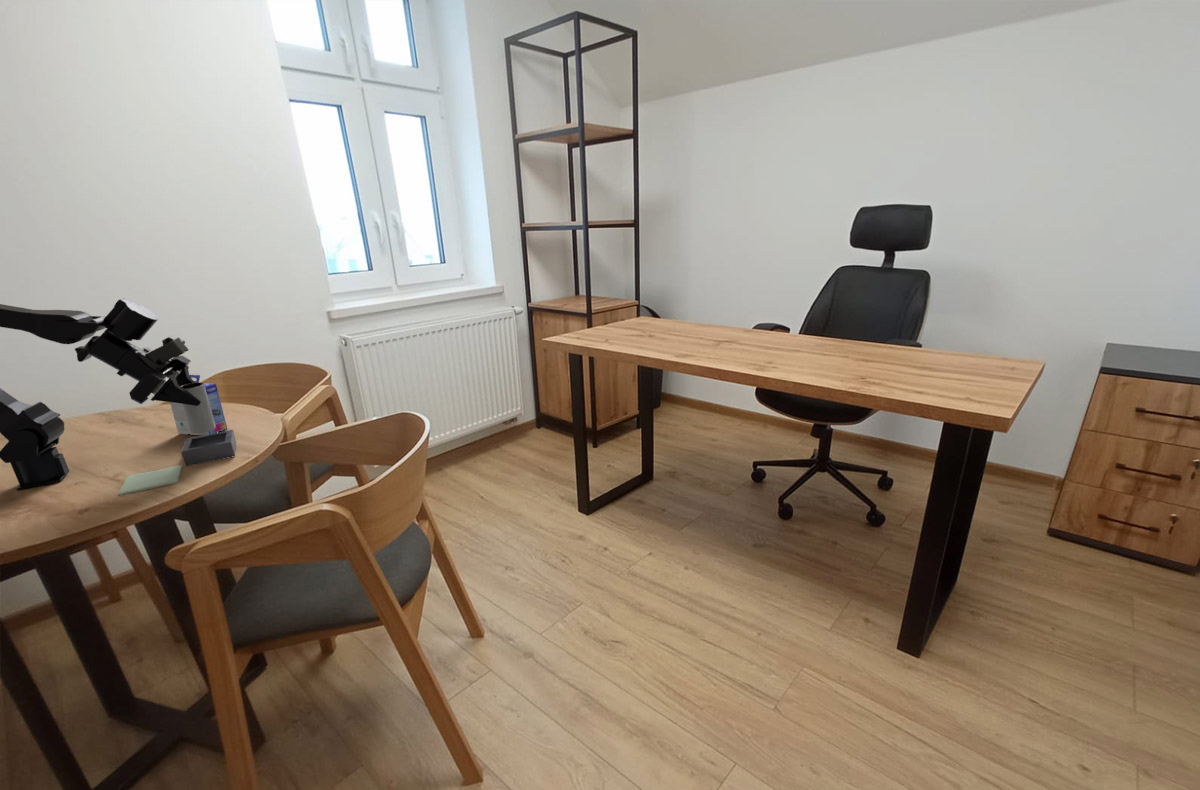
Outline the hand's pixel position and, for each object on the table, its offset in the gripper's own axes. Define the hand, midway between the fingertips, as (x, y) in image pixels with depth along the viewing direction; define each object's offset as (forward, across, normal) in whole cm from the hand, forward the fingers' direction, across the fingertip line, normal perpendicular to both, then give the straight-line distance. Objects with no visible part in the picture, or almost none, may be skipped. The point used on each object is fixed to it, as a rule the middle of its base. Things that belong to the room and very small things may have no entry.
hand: (203, 400), depth 115 cm
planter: (+4, 0, +6) cm, 7 cm away
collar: (+8, 0, +10) cm, 13 cm away
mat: (+3, -10, +15) cm, 19 cm away
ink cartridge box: (+4, +18, +14) cm, 24 cm away
